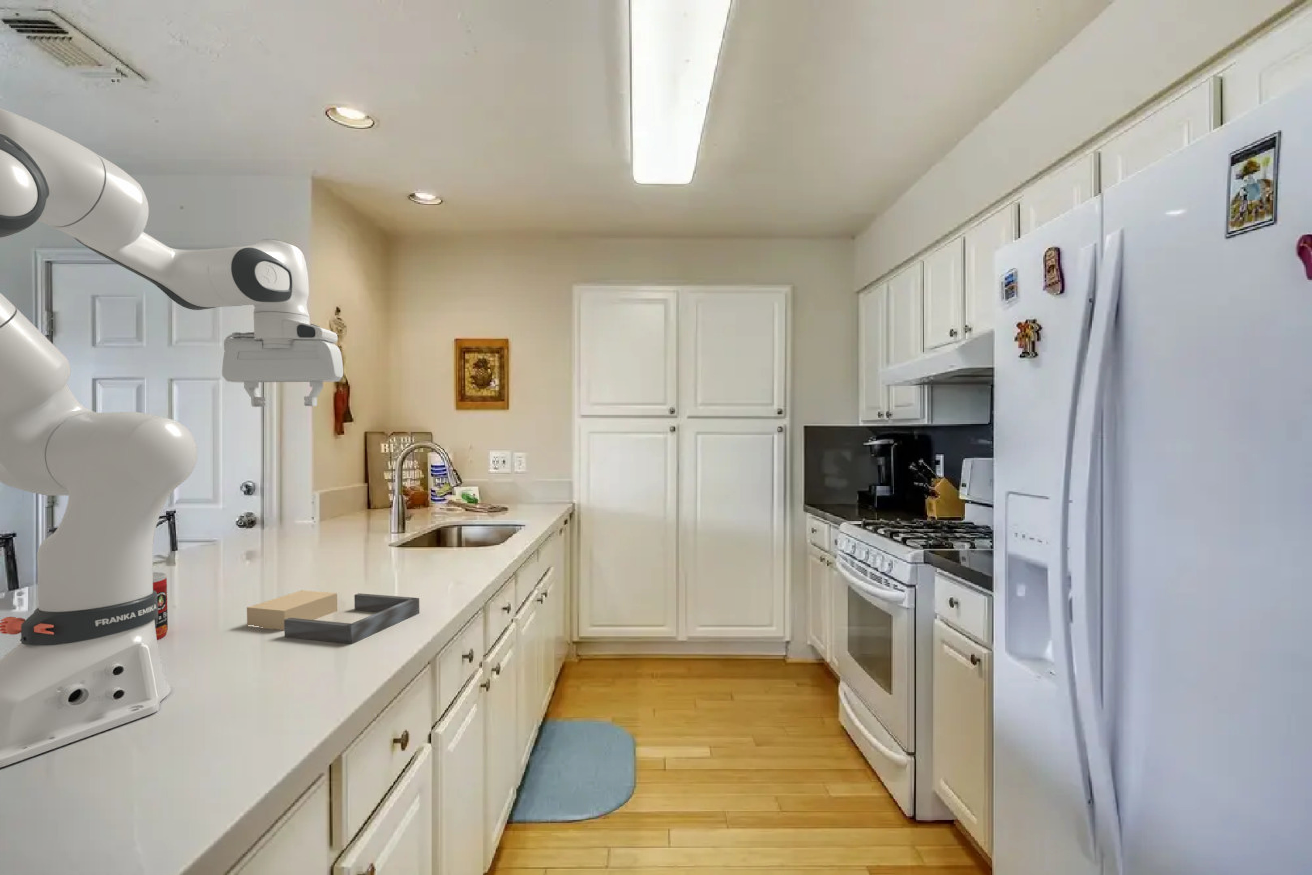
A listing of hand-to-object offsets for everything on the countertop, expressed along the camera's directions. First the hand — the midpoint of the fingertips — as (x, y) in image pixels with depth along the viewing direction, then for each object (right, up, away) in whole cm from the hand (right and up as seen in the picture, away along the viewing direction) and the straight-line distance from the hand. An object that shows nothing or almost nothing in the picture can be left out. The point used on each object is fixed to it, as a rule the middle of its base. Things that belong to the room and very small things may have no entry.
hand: (284, 406), depth 110 cm
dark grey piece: (+12, -41, +1) cm, 43 cm away
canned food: (-22, -42, -6) cm, 47 cm away
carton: (-1, -41, +5) cm, 42 cm away
